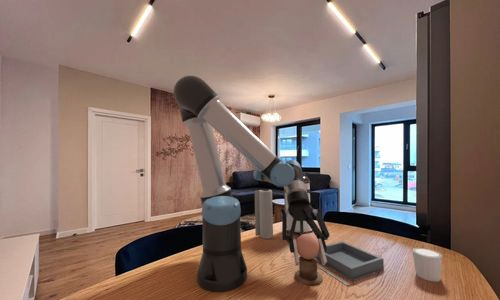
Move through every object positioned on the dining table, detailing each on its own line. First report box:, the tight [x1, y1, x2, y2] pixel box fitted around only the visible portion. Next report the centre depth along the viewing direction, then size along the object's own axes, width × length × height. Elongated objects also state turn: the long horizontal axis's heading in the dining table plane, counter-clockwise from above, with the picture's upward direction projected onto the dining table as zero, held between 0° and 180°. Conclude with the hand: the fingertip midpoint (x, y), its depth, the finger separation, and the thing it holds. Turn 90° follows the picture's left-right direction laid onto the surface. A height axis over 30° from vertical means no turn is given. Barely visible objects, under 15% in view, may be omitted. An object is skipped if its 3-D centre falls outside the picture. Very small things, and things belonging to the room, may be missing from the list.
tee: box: [294, 255, 324, 286], centre depth 64 cm, size 8×8×6 cm
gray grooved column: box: [254, 189, 274, 240], centre depth 99 cm, size 7×6×21 cm
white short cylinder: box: [412, 247, 443, 282], centre depth 63 cm, size 7×7×7 cm
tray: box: [316, 241, 385, 282], centre depth 72 cm, size 14×16×4 cm
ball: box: [296, 233, 320, 259], centre depth 64 cm, size 7×7×7 cm
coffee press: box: [283, 175, 314, 236], centre depth 106 cm, size 17×16×30 cm
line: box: [317, 263, 351, 286], centre depth 69 cm, size 1×20×1 cm, turn 25°
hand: (311, 263), depth 60 cm, fingers closed on ball, 7 cm apart
